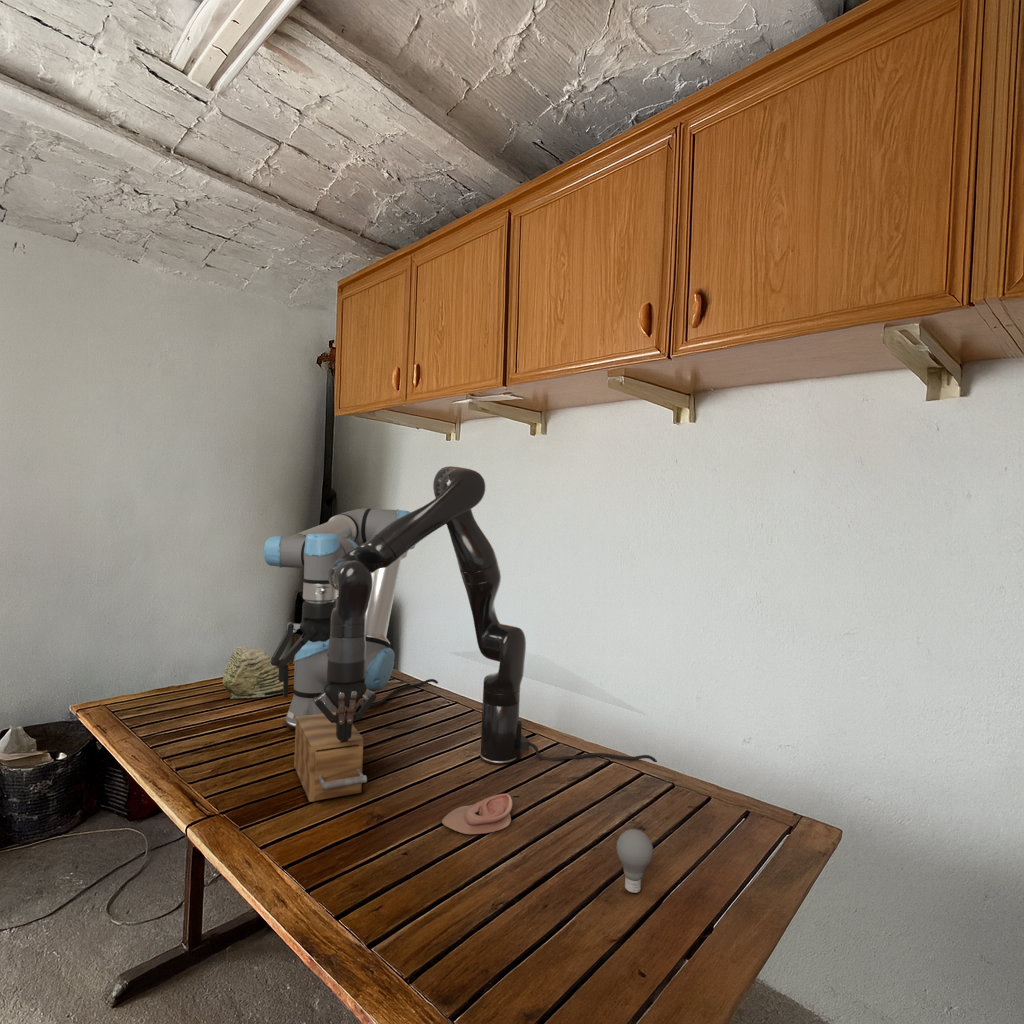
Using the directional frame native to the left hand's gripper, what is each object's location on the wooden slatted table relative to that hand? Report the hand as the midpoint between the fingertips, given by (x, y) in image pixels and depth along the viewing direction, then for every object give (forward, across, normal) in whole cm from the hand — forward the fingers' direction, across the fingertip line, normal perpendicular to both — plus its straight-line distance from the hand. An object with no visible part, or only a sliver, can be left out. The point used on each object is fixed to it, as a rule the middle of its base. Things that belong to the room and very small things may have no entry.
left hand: (316, 692), depth 145 cm
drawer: (+17, +2, -10) cm, 20 cm away
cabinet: (+18, +2, -5) cm, 19 cm away
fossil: (+18, -9, +62) cm, 66 cm away
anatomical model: (+18, +27, -34) cm, 47 cm away
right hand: (+4, +3, -19) cm, 20 cm away
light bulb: (+18, +43, -64) cm, 79 cm away
